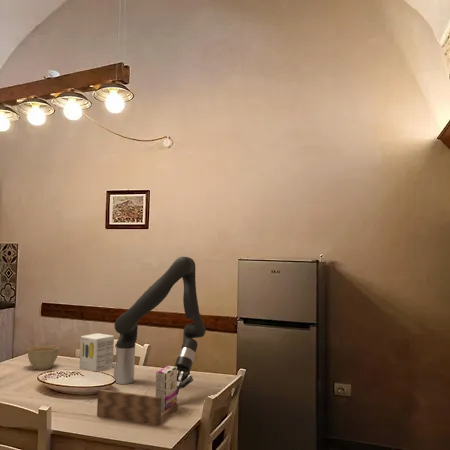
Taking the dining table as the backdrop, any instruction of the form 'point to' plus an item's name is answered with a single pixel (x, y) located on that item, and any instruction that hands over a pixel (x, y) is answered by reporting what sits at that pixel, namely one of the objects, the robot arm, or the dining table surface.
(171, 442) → the dining table surface
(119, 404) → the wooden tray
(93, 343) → the supplement box
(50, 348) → the planter bowl
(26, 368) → the dining table surface
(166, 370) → the candy bar box
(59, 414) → the dining table surface
